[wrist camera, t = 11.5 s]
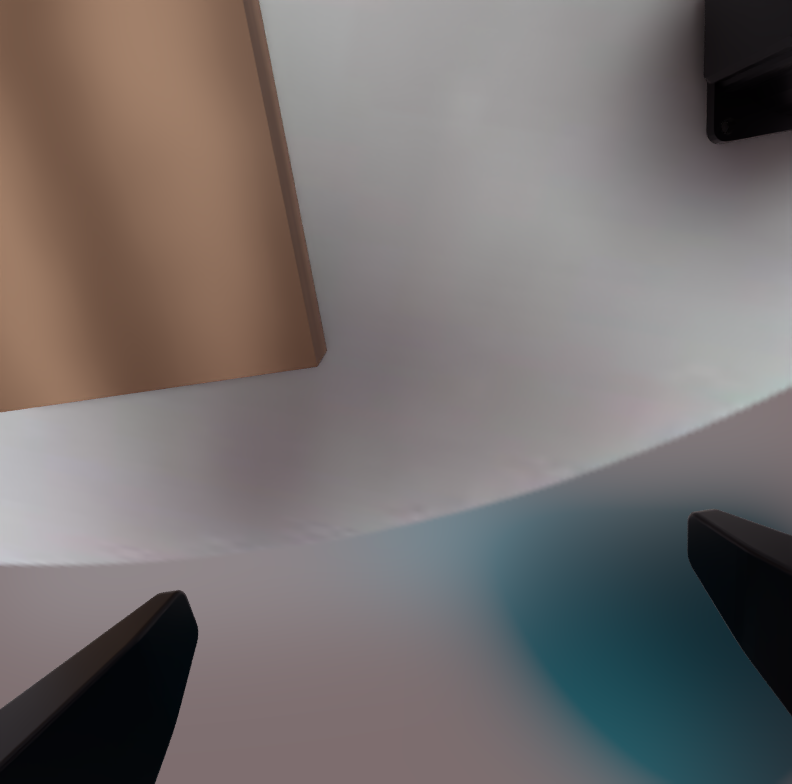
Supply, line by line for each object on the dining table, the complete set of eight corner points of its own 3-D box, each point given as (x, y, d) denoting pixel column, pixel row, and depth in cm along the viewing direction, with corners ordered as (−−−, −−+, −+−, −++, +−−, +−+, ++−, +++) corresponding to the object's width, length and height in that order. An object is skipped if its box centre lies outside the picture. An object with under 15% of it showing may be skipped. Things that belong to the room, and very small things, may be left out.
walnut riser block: (261, 3, 17) (233, -45, 14) (328, 347, 20) (317, 366, 17) (-76, 63, 17) (-170, 29, 14) (49, 388, 21) (-6, 413, 18)
